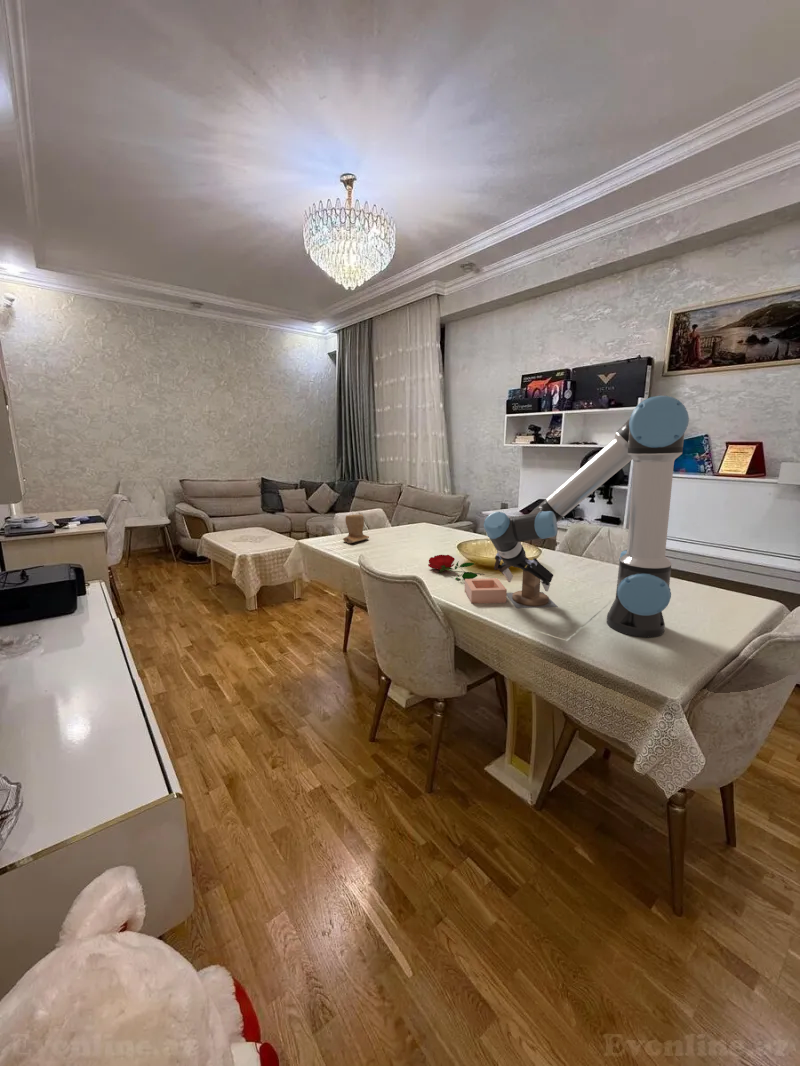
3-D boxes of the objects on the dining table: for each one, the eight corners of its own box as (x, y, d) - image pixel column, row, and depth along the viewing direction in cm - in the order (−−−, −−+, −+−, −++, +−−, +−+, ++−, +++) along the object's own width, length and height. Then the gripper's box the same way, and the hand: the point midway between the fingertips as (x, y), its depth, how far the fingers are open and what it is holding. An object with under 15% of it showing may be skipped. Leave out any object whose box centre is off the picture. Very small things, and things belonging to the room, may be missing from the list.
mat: (558, 608, 142) (558, 607, 142) (516, 609, 142) (516, 608, 142) (542, 593, 156) (542, 592, 156) (504, 593, 155) (504, 592, 155)
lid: (554, 599, 149) (556, 568, 147) (539, 609, 140) (541, 576, 138) (522, 591, 157) (524, 561, 154) (506, 600, 148) (507, 569, 146)
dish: (506, 603, 146) (506, 589, 145) (471, 604, 146) (471, 590, 145) (496, 591, 158) (497, 578, 157) (464, 591, 158) (464, 578, 157)
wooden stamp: (356, 537, 245) (355, 511, 242) (372, 539, 238) (371, 513, 235) (337, 542, 234) (336, 515, 230) (353, 545, 226) (352, 517, 223)
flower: (488, 556, 163) (432, 547, 186) (475, 572, 159) (418, 561, 181) (496, 574, 167) (439, 563, 190) (483, 590, 163) (426, 577, 185)
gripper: (471, 552, 141) (492, 584, 155) (544, 567, 124) (560, 601, 139) (480, 533, 143) (500, 567, 157) (553, 546, 127) (568, 582, 141)
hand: (528, 583), depth 148 cm, fingers open, 13 cm apart
